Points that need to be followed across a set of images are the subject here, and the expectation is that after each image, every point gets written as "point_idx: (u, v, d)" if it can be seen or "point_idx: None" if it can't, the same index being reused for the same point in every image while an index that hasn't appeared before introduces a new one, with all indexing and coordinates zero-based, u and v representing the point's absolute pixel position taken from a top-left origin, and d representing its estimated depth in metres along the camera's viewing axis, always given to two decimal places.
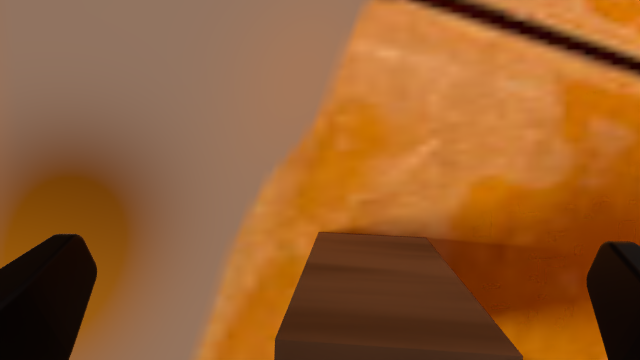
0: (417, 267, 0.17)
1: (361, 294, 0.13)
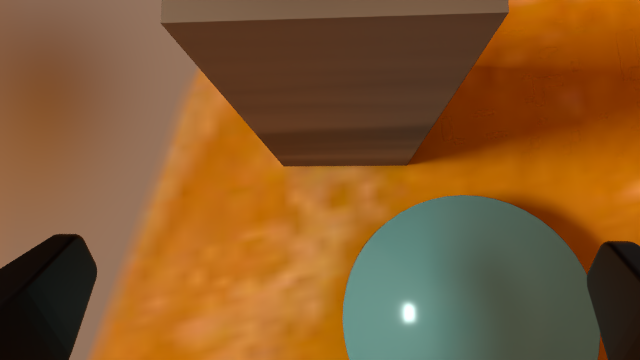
0: None
1: None
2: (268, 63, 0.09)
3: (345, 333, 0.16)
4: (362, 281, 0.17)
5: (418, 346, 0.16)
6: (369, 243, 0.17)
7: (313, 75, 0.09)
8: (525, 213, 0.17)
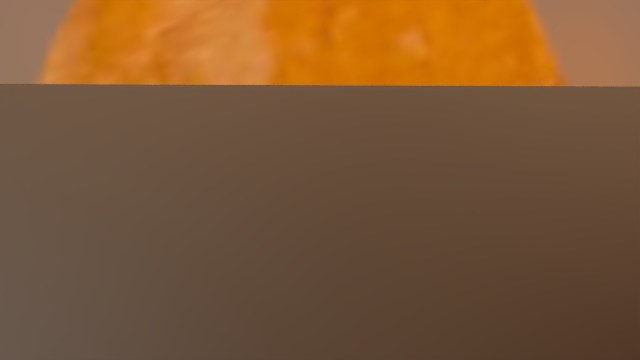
0: None
1: None
2: None
3: None
4: None
5: None
6: None
7: None
8: None
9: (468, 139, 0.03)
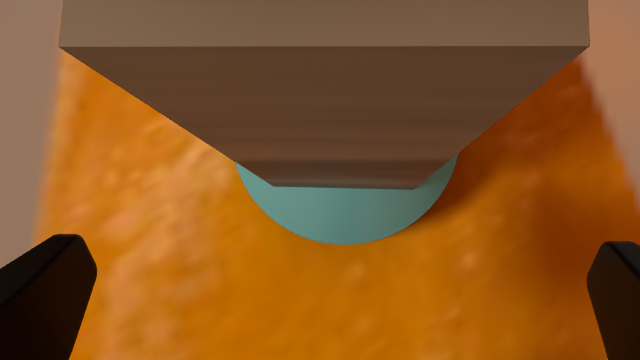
0: None
1: None
2: (232, 97, 0.06)
3: (239, 170, 0.18)
4: None
5: None
6: None
7: (297, 110, 0.07)
8: None
9: None
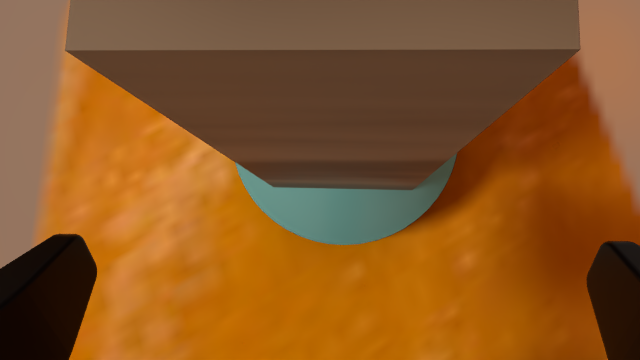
0: None
1: None
2: (233, 98, 0.06)
3: (239, 171, 0.18)
4: None
5: None
6: None
7: (297, 112, 0.07)
8: None
9: None
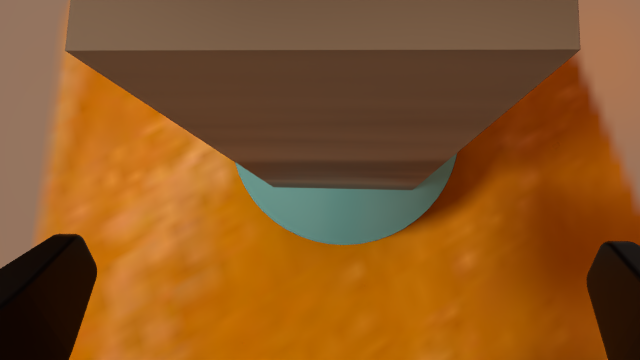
0: None
1: None
2: (233, 98, 0.06)
3: (239, 171, 0.18)
4: None
5: None
6: None
7: (297, 112, 0.07)
8: None
9: None
